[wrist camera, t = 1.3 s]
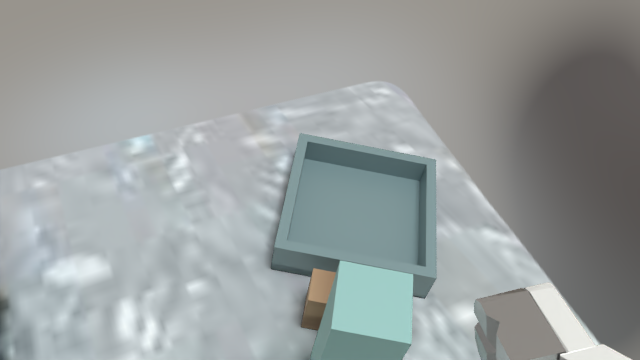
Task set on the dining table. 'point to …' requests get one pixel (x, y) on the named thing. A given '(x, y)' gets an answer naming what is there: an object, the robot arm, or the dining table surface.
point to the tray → (358, 211)
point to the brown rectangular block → (317, 298)
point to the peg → (366, 315)
